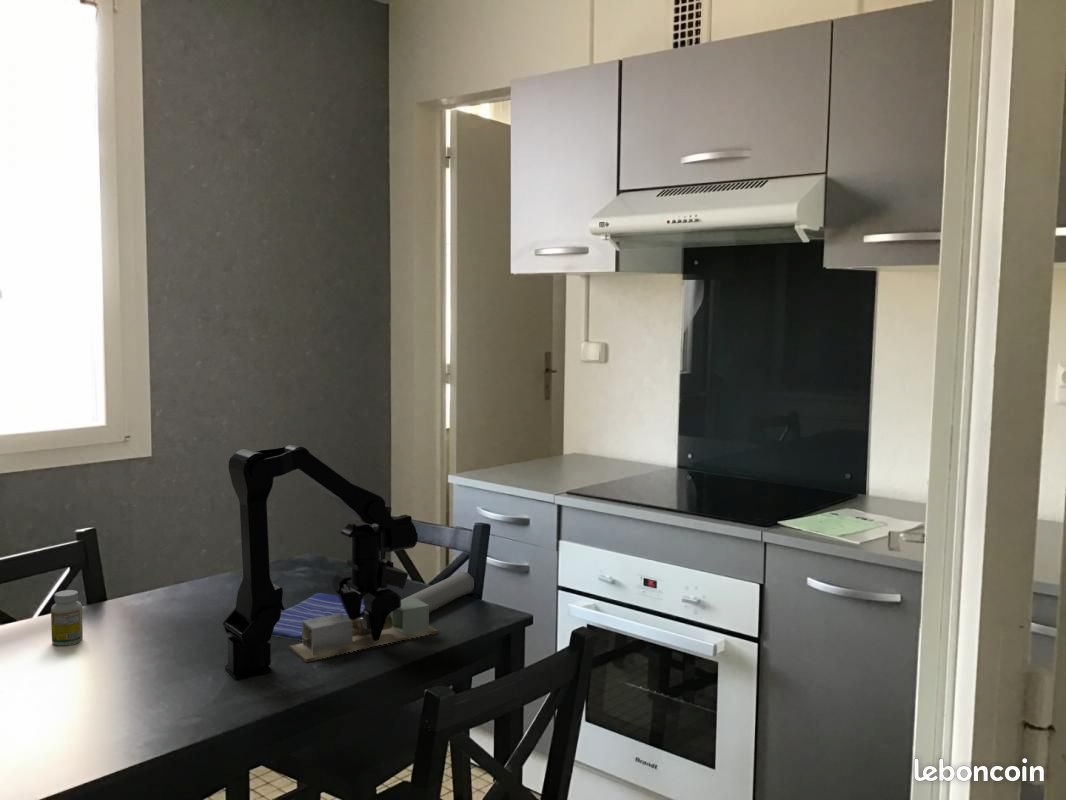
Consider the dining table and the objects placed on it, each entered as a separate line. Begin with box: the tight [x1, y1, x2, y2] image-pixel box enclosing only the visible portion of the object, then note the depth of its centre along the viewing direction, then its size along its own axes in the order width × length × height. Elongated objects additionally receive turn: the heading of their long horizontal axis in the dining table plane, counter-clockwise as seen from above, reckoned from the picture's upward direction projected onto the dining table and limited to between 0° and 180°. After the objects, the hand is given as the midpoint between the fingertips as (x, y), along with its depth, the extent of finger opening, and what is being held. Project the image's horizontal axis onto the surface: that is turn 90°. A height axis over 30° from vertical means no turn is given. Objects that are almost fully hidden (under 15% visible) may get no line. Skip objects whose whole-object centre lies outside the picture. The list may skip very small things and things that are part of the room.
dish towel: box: [271, 592, 365, 642], centre depth 188 cm, size 17×24×3 cm
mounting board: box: [289, 625, 439, 663], centre depth 177 cm, size 28×8×1 cm, turn 126°
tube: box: [401, 570, 475, 614], centre depth 198 cm, size 5×5×25 cm
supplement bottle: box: [50, 589, 84, 647], centre depth 173 cm, size 5×5×10 cm
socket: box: [390, 598, 430, 636], centre depth 182 cm, size 6×6×5 cm
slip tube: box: [309, 613, 392, 643], centre depth 175 cm, size 16×4×4 cm, turn 126°
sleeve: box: [301, 613, 353, 655], centre depth 172 cm, size 8×5×5 cm, turn 126°
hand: (365, 633), depth 176 cm, fingers open, 9 cm apart
